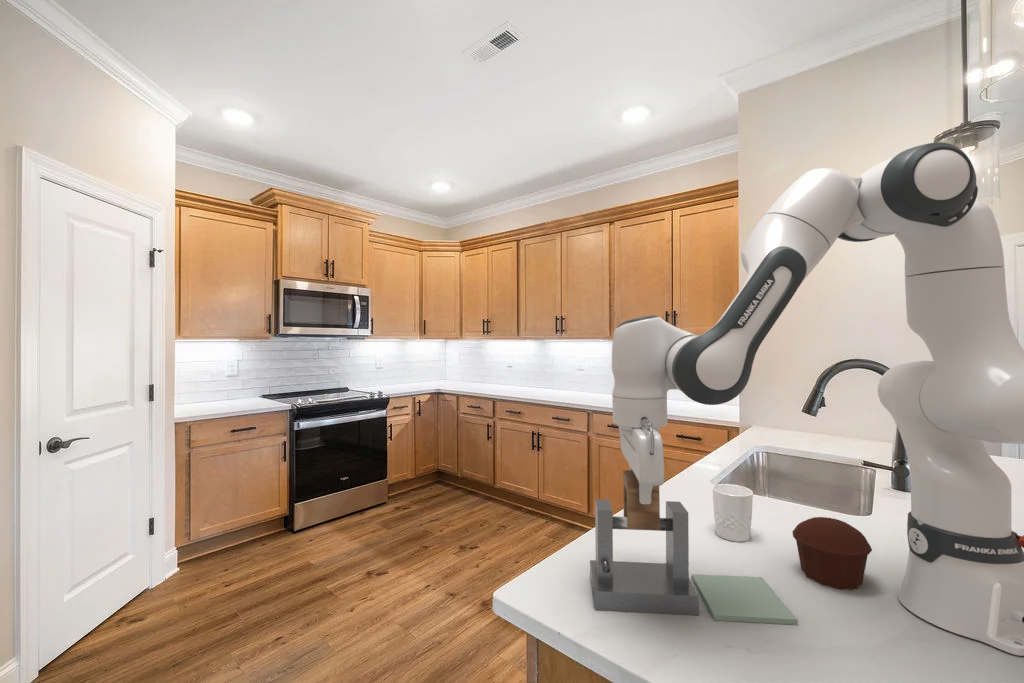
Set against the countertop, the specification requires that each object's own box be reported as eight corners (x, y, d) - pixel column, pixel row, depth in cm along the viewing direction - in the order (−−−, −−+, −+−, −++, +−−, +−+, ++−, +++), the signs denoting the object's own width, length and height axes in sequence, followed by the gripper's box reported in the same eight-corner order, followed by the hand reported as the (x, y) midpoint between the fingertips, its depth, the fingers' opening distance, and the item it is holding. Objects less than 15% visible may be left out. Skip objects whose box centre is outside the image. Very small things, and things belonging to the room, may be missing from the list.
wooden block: (653, 516, 78) (652, 470, 78) (659, 529, 73) (659, 480, 73) (623, 516, 79) (622, 470, 79) (628, 529, 73) (627, 480, 73)
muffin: (855, 566, 85) (855, 513, 85) (885, 598, 74) (885, 538, 74) (784, 557, 88) (784, 506, 88) (802, 587, 78) (802, 529, 78)
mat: (761, 581, 80) (761, 577, 80) (797, 624, 68) (797, 619, 68) (691, 578, 81) (691, 574, 81) (714, 620, 69) (714, 614, 69)
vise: (681, 580, 80) (681, 496, 80) (698, 615, 70) (698, 519, 70) (590, 576, 82) (589, 494, 82) (594, 609, 72) (593, 515, 72)
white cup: (718, 524, 104) (718, 481, 104) (756, 534, 99) (756, 488, 99) (708, 536, 98) (708, 490, 98) (748, 547, 93) (748, 498, 93)
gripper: (674, 425, 65) (676, 520, 65) (647, 404, 85) (648, 477, 86) (629, 424, 66) (631, 519, 66) (613, 404, 86) (614, 476, 86)
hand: (640, 495), depth 76 cm, fingers closed on wooden block, 5 cm apart
